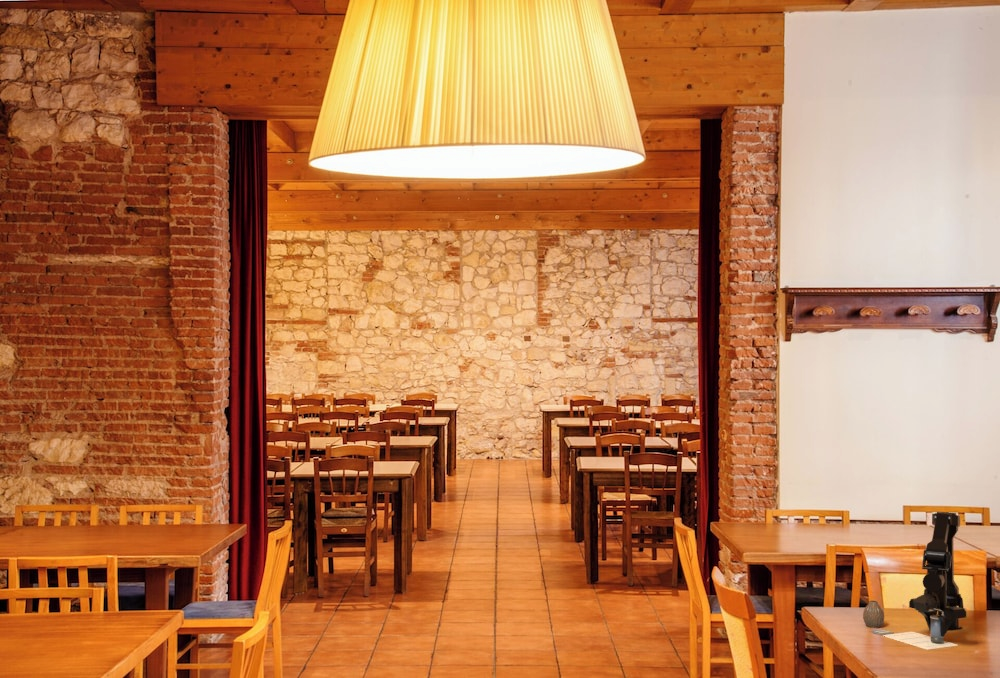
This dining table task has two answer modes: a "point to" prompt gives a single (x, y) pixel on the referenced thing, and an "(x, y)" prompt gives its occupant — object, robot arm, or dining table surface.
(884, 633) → the grey striped tile
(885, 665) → the dining table surface
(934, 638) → the grey capped bottle
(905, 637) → the paper
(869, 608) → the vase
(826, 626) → the dining table surface
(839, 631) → the dining table surface
